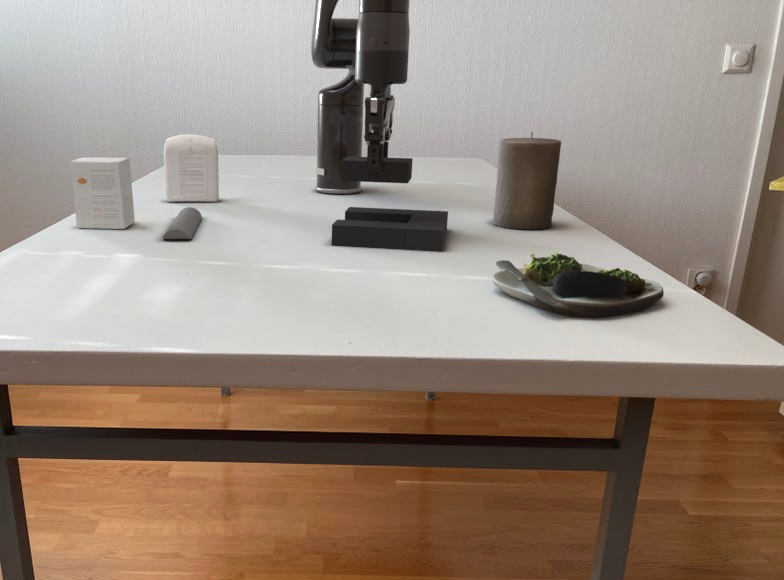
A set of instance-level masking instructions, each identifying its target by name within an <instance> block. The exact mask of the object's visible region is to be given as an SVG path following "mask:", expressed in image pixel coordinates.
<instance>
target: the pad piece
mask: <svg viewBox="0 0 784 580" xmlns="http://www.w3.org/2000/svg"><path fill="white" fill-rule="evenodd" d="M413 159H414V158H411V157H388V158H386V157H383V164H382V170H381V171H380V172H369V171H368V170H367V156H362V157H355V156H347V157H346V158H344V159H343V160H341V181H356V182H361V183H381V184H382V183H385V184H409V182H410V181H411V180H412V179H413V178H412V177H413V176H412V175H413V161H414V160H413Z"/></svg>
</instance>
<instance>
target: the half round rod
mask: <svg viewBox="0 0 784 580" xmlns="http://www.w3.org/2000/svg"><path fill="white" fill-rule="evenodd" d="M202 219H203V216H202V213H201V212H200V211H199V210H198V209H197V208H195V207H191V206H189V207H188V206H187V207H184V208H182V209H181V210H180V211H179V212H178V214H177V216H176V217H175V218H174V220H173V221H172V223H171V224H170V226H169V227H168V229H167V230H166V232H165V233H164V234H163V235H162V239H163V240H191V239H193V236H194V234H195V233H196V231H197V228H198V227H199V225H200V223H201V220H202Z"/></svg>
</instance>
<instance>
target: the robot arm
mask: <svg viewBox="0 0 784 580" xmlns="http://www.w3.org/2000/svg"><path fill="white" fill-rule="evenodd" d="M339 1H340V0H315V5H314V13H313V15H314V16H313V23H312V31H311V40H310V54H311V55H310V56H311V61H312V63H313V65H314V66H315V67H316V68H318V69H325V70H326V69H327V70H330V69H332V70H348V72H347V75H346V76H345V77H344V78H342V79H341V81H338V82H337V83H335V84H332V85H330V86H327V87H324V88H321V89H319V91H318V93H317V135H316V136H317V145H316V147H317V148H316V149H317V150H316V167H315V174H316V186H315V187H316V188H315V191H316V192H318V193H324V194H332V195H347V194H357V193H360V192H361V191H362V182H356V181H341V160H343V159H344V158H346V157H347V156H355V157H363V139H364V141H365V143H366V146H367V147H366V148H367V152H366V157H367V170H368V171H369V172H380V171H381V170H382V164H383V157H386V158H389V142H390V139H391V136H392V134H393V129H392V127H393V124H394V110H395V105H396V98H395V97H394V94H392V93H391V92H392V91H391V88H392V85H405V84H406V83H407V82H408V72H409V55H410V53H409V52H410V51H409V50H410V33H411V32H410V31H411V30H410V14H409V13H410V1H411V0H358V18H347V17H346V18H345V17H344V18H343V17H341V18H340V17H339V18H338V17H337V18H336V17H335V18H334V17H333V15H334V12H335V9H336V7H337V5H338V3H339ZM365 85H369V86H370V87H369V96H368V97H365ZM364 98H365V99H364ZM364 111H365V112H364ZM363 127H364V128H363ZM363 130H364V131H363ZM363 132H364V133H363ZM363 134H364V135H363Z"/></svg>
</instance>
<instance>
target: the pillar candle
mask: <svg viewBox="0 0 784 580" xmlns="http://www.w3.org/2000/svg"><path fill="white" fill-rule="evenodd" d="M533 135H534V132H533V131H531V133H530V137H512V138H511V137H508V138H501V139H499V150H498V151H499V152H498V160H497V161H498V162H497V172H496V183H495V195H494V203H493V217H492V223H493V224H494V225H495V226H496V227H501V228H507V229H515V230H517V229H518V230H545V229H549V228H550V227H553V224H552V223H553V215H554V209H555V198H556V196H555V195H556V189H557V184H558V183H557V182H558V172H559V165H560V156H561V147H562V141H561V140H560V139H555V138H545V137H533Z"/></svg>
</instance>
